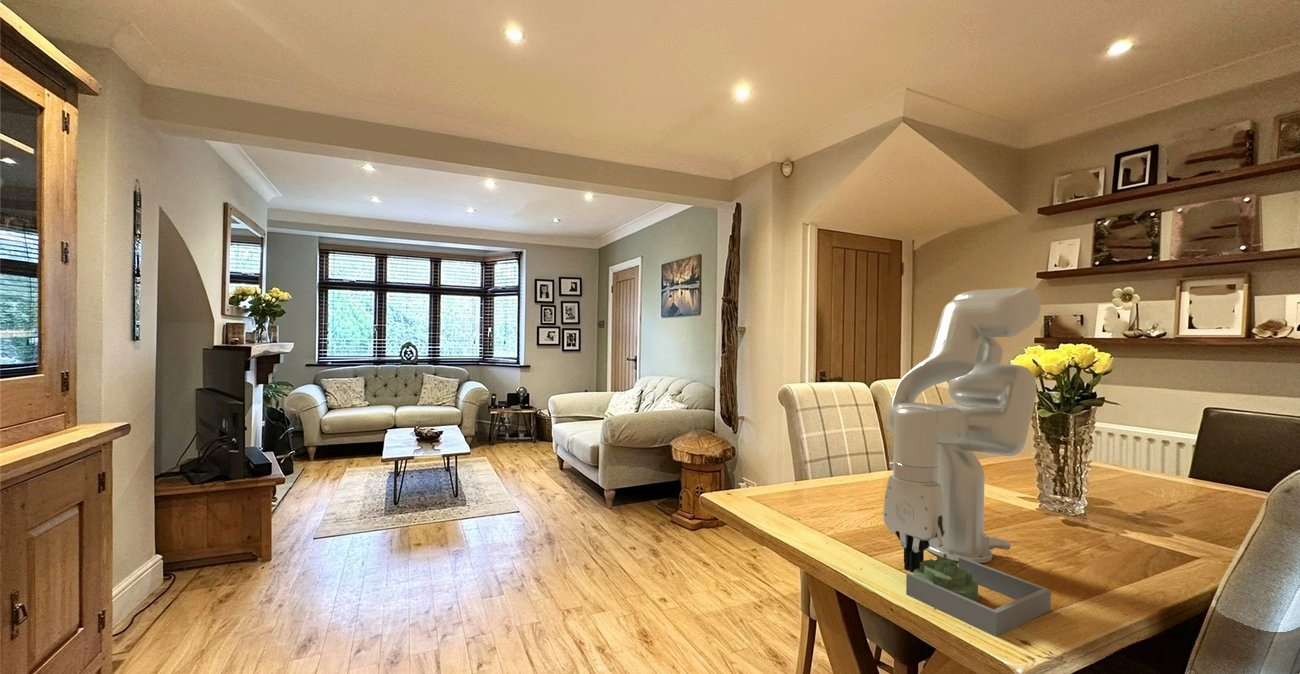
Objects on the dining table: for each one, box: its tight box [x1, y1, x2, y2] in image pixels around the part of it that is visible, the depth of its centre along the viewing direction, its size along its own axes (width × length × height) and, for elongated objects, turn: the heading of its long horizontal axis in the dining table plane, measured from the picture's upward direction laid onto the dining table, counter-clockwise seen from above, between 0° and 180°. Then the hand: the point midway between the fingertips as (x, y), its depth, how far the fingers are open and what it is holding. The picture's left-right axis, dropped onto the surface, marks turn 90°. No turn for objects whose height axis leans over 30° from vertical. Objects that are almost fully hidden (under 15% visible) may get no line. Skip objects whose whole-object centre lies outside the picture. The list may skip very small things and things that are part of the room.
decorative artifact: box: [912, 554, 979, 603], centre depth 92 cm, size 10×7×10 cm
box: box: [905, 557, 1052, 637], centre depth 89 cm, size 15×17×4 cm
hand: (913, 569), depth 98 cm, fingers closed
